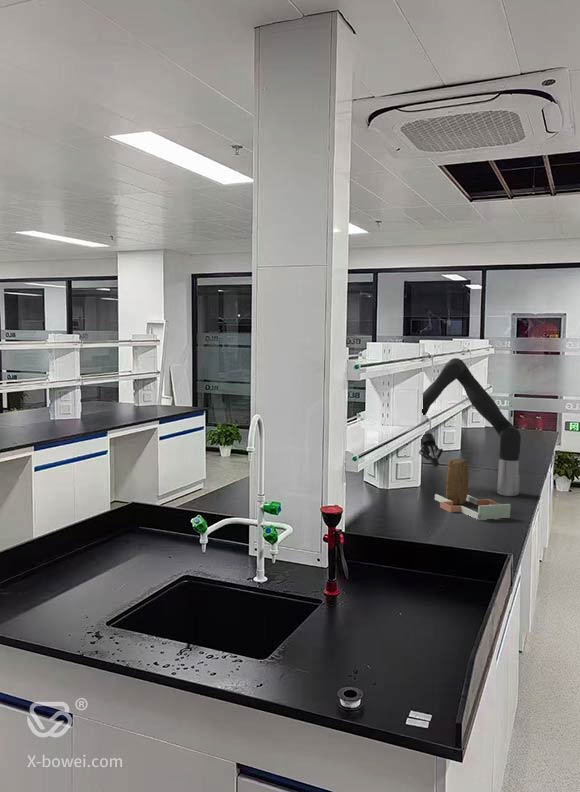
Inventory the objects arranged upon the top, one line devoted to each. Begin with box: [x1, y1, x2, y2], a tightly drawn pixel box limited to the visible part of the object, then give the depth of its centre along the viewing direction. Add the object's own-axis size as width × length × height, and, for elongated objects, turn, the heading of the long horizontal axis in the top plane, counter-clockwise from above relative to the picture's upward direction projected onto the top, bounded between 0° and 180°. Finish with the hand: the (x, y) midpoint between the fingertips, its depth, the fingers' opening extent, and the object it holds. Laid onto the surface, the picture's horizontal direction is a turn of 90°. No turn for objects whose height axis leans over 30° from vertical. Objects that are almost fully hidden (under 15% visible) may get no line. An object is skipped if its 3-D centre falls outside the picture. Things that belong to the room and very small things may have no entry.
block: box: [445, 458, 469, 505], centre depth 307 cm, size 11×8×20 cm
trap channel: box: [434, 493, 512, 521], centre depth 297 cm, size 25×36×6 cm
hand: (436, 466), depth 326 cm, fingers closed
